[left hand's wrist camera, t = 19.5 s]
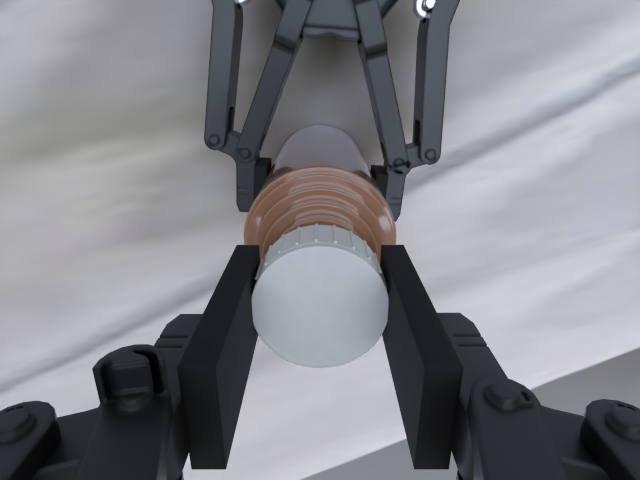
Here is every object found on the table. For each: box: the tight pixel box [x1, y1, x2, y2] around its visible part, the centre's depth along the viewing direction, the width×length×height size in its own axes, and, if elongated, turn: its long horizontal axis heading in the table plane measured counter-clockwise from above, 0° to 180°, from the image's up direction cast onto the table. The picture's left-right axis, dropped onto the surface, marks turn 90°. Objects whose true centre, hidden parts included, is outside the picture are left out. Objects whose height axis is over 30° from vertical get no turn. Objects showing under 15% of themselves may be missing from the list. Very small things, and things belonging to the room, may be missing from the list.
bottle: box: [244, 125, 396, 264], centre depth 23 cm, size 7×7×21 cm
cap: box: [252, 224, 389, 368], centre depth 14 cm, size 4×4×2 cm
